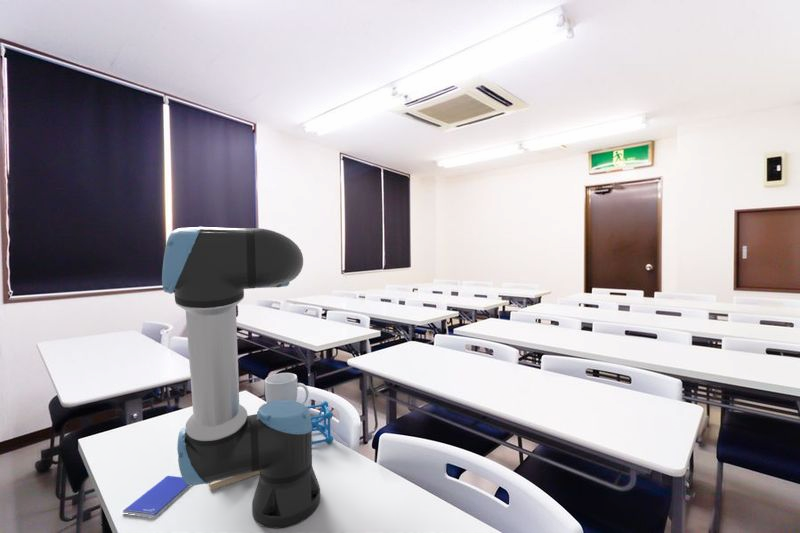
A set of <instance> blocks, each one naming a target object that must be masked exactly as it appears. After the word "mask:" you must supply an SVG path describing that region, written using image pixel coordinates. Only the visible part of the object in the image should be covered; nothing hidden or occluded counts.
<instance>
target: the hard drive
mask: <svg viewBox="0 0 800 533" xmlns="http://www.w3.org/2000/svg"><path fill="white" fill-rule="evenodd" d="M190 487H192V485H188V484H186V483H185V482H184V480H183V478H182V476H173V475H166V476H165V477H164V478H162V479H161V480H160V481H159V482H158V483H156V484H155V485H153V486H152V487H151V488H150V489H149V490H147V491H146V492H145V493H143V494H142V495H141V496H140V497H139V498H137V499H135V501H133V502H132V503H131V504H130V505H128V506H127V507H126V508H125V509H123V510H122V514H123V513H128V514H135V515H140V516H145V517H144V518H148V517H151V518H150V519H156V518H157V517H158V516H159V515H160V514H161V513H163V512H164V511H165V510H166V509H167V508H168V507H169V506H170V505H171V504H173V503H174V502H175V501H176V500H177V499H178V498H179V497H180V496H182V494H184V493H185V492H186V491H187V490H189V488H190ZM140 516H139V517H140Z"/></svg>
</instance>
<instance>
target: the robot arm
mask: <svg viewBox="0 0 800 533" xmlns="http://www.w3.org/2000/svg"><path fill="white" fill-rule="evenodd" d="M303 266H304V256H303V252H302V250H301V248H300V246H299V245H298V244H297V243H295V242H294V240H292V239H291V238H290V237H287V236H285V235H283V233H280V232H277V231H275V230H271V229H268V228H267V229H266V228H262V227H261V228H260V227H259V228H258V227H257V228H256V227H255V228H254V227H253V228H250V227H249V228H248V227H247V228H243V227H241V228H239V227H211V226H210V227H208V226H206V227H205V226H198V227H197V226H195V227H180V228H176V229H174V230H173V231H172V232H171V233H170V234H169V236H168V237H167V241H166V245H165V248H164V254H163V262H162V271H161V272H162V273H161V282H162V283H161V285H162V290H163V292H164V293H168V294H172V295H173V293H174V302H175V304H176V305H177V306H178V307H180V308H181V309H183V310H185V319H186V320H185V321H186V333H187V334H186V335H187V345H188V346H187V347H188V359H189V360H188V362H189V363H188V364H189V376H190V377H189V378H190V388H191V390H190V391H191V400H192V402H191V403H192V413H193V414H191V415H190V416H189V418H188V419H187V421H186V422H185V427H183V428H181V429H180V431H179V432H178V438H177V448H176V449H177V456H178V459H177V461H178V469H179V472H180V475H181V476H180V477H182V478H183V480H184V482H185V483H186V484H188V485H191V487H192V486H199V485H205V484H206V485H209V483H212V482H214V481H218V480H222V479H226V478H230V477H234V476H238V475H242V474H246V473H250V472H254V471H259V470H260V473H259V479H258V481H257V484H256V488H255V490H254V494H253V498H252V503H251V508H252V518H253V519H254V521H255V522H256V523H258V524H259V525H260V526H263V527H264V528H270V529H282V528H283V529H284V528H289V527H292V526H296V525H297V524H300V523H301V522H304V521H305V520H306V519H308V518H309V517H311V516H312V515H313V514H314V513H315V511H316V510H317V508H319V505H320V503H321V502H320V501H321V487H320V484H319V480H318V478H317V475H316V473H315V470H314V467H313V455H312V454H313V449H312V448H313V446H312V445H313V444H312V442H313V440H312V432H313V431H312V424H311V417H312V416H311V411H310V409H308V408H307V406H306V405H305V404H301V402H299V401H296V402H295V401H289V400H278V401H271V402H268V403H263V404H262V405H261V406H259V408H258V410H257V411H256V413H254V414H250V415H248V412H247V409H246V408H245V407H244V406H243V405H242V404H240V388H239V387H240V385H239V384H240V383H239V382H240V381H239V359H238V358H239V357H238V354H239V353H238V332H237V331H238V329H237V326H238V325H237V318H238V316H239V306H238V304H239V303H241V302H242V300H244V298H245V290H249V289H261V288H262V289H263V288H264V289H266V288H271V289H272V288H282V287H285V288H286V287H288V286H289V285H290V282H292V281H294V280H295V279H297V277H298V276H299V275H300V273H301V272H302V270H303ZM311 431H312V432H311Z"/></svg>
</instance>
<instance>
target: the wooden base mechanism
mask: <svg viewBox="0 0 800 533" xmlns="http://www.w3.org/2000/svg"><path fill="white" fill-rule="evenodd" d="M257 475H260V470H259V471H254V472H250V473H246V474H242V475H238V476H234V477H230V478H226V479H222V480H218V481H214V482H212V483H208V485H209V490H210V491H213V490H217V489H220V488H222V487H225V486H228V485H231V484H233V483H236V482H239V481H242V480H244V479H247V478H250V477H253V476H257Z"/></svg>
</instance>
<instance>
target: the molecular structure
mask: <svg viewBox="0 0 800 533" xmlns="http://www.w3.org/2000/svg"><path fill="white" fill-rule="evenodd" d="M306 407H307V408H308V409H309V410H310V409H316V408H320V411H319V413H318V415H315V416H311V424H312V431H311V433H312V432H317V431H319V432H320V433H321V434H322V435H323V437H325V438H324V439H319V440H314V441H313V440H312V445H317V444H320V443H326V444H328V445H329V444H332V443H333V442H334V437H333V436H332V435H331V419H332V418H333V412H332V410H329V402H328V401H327V400H323V401H322V402H321V404H314V405H310V406H309V405H308V406H306ZM322 413H323V414H322ZM320 422H323V424H320Z"/></svg>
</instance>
